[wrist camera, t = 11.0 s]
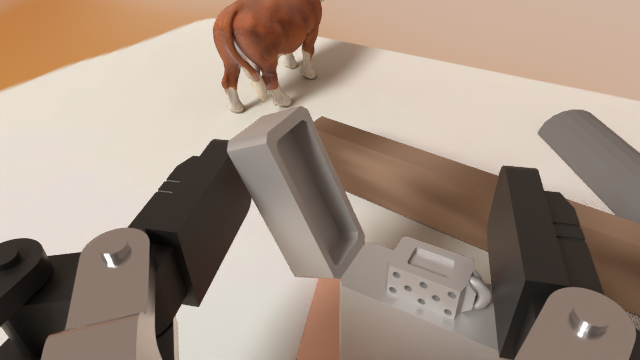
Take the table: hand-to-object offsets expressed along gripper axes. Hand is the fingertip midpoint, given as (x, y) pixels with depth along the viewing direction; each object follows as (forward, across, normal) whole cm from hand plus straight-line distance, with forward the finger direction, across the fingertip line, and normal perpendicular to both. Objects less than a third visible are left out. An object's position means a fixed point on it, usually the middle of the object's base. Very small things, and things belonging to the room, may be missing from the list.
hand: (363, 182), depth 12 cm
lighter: (-1, 0, +6) cm, 6 cm away
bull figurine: (+20, +8, +7) cm, 23 cm away
